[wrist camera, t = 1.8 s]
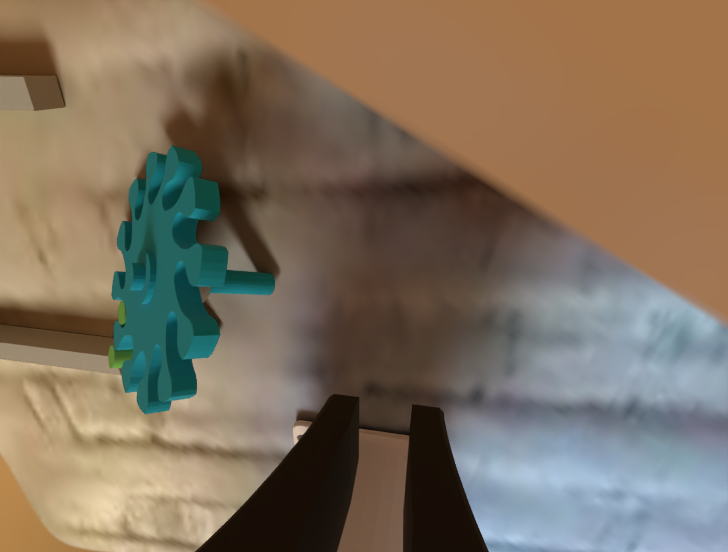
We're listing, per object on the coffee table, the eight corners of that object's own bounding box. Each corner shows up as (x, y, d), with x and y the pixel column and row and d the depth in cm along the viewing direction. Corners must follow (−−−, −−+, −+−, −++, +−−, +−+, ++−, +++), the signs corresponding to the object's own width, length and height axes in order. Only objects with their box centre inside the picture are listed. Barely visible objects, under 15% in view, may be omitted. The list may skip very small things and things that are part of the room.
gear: (153, 81, 15) (205, 325, 10) (292, 131, 19) (373, 323, 15) (85, 263, 21) (99, 465, 17) (201, 272, 25) (237, 436, 21)
